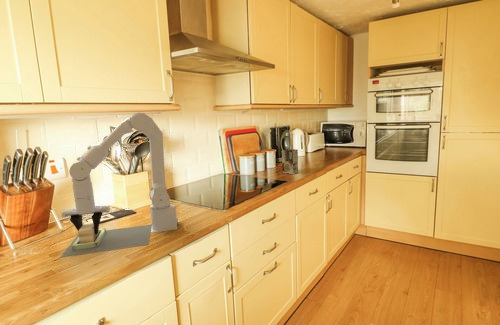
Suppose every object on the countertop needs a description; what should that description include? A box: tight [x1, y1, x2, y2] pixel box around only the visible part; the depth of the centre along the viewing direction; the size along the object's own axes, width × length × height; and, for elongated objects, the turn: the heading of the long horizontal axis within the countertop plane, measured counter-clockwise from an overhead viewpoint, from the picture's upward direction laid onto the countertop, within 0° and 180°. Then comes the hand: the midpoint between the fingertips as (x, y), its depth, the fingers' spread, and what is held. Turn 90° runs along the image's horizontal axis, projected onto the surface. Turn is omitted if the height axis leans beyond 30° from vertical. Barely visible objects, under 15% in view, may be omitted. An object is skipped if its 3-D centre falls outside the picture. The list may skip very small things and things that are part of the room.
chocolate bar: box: [85, 208, 137, 225], centre depth 128 cm, size 9×1×18 cm
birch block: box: [77, 221, 99, 244], centre depth 102 cm, size 9×4×4 cm, turn 16°
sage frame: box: [72, 228, 107, 250], centre depth 102 cm, size 8×13×2 cm, turn 14°
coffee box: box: [281, 148, 299, 175], centre depth 200 cm, size 9×6×16 cm
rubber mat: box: [59, 224, 152, 258], centre depth 103 cm, size 26×19×1 cm
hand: (89, 234), depth 102 cm, fingers closed on birch block, 4 cm apart
